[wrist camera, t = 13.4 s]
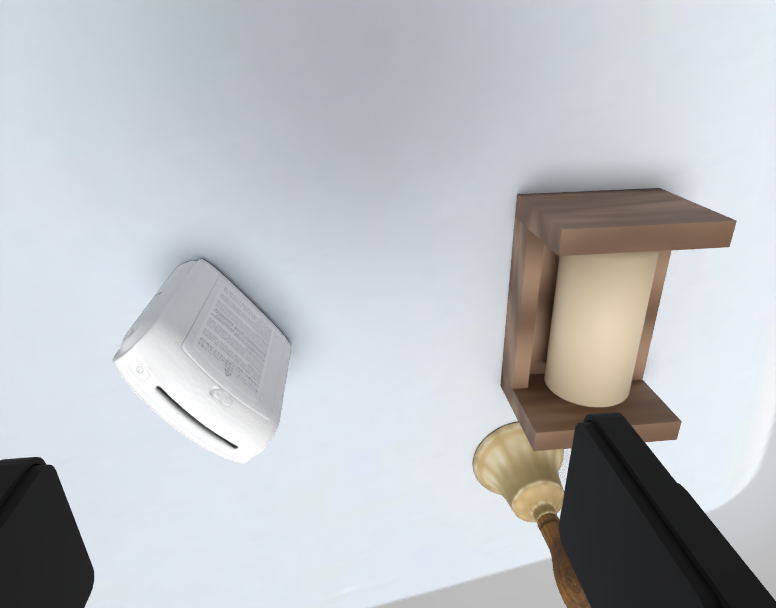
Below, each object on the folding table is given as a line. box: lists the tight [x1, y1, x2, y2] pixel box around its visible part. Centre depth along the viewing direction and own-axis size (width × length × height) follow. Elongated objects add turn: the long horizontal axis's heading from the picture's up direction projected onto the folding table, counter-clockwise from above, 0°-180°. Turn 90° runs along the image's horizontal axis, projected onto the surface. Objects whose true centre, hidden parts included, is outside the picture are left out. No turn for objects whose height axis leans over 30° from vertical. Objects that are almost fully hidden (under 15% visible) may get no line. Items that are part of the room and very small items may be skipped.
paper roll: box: [544, 251, 659, 407], centre depth 37 cm, size 11×6×6 cm, turn 1°
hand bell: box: [473, 422, 591, 608], centre depth 41 cm, size 8×8×16 cm
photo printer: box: [112, 259, 291, 463], centre depth 33 cm, size 10×4×12 cm, turn 38°
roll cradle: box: [501, 188, 736, 451], centre depth 37 cm, size 16×10×8 cm, turn 1°
